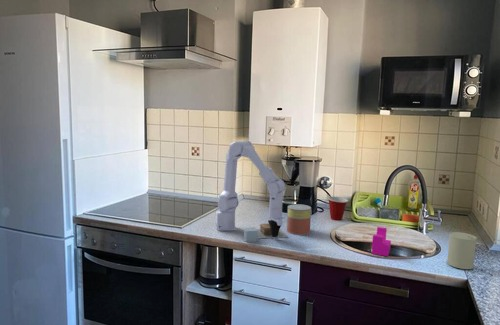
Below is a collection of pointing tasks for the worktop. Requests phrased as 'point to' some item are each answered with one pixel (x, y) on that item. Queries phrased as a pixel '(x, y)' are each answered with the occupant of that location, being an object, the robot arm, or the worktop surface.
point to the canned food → (298, 219)
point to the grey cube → (250, 234)
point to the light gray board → (281, 235)
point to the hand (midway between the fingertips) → (274, 236)
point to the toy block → (381, 242)
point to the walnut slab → (265, 229)
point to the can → (461, 250)
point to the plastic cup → (337, 207)
